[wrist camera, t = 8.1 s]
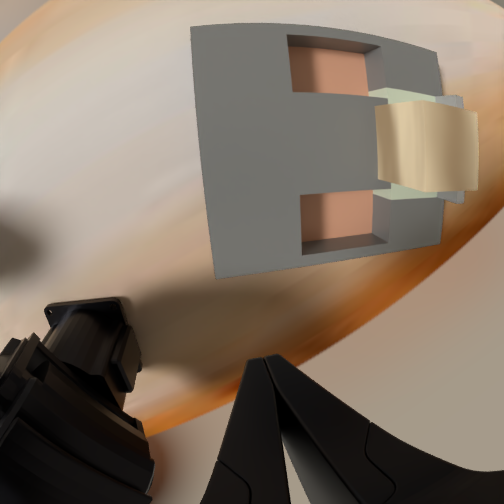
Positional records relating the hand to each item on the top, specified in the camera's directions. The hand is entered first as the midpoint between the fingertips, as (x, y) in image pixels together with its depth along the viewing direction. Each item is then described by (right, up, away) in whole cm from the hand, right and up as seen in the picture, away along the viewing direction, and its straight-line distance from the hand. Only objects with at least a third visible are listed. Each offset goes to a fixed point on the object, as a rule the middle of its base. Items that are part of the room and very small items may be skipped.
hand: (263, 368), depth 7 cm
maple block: (+9, +10, +8) cm, 16 cm away
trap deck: (+5, +10, +10) cm, 15 cm away
